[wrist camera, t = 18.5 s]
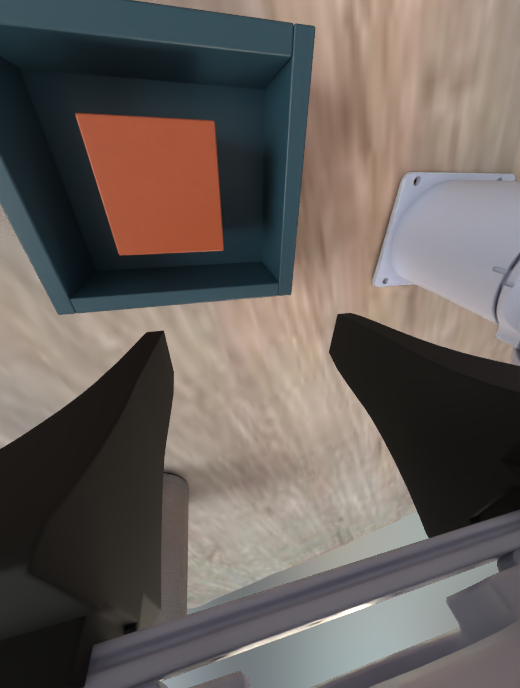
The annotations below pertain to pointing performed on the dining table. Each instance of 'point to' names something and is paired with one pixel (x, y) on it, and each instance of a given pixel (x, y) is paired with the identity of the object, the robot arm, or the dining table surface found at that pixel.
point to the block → (156, 181)
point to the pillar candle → (174, 549)
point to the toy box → (151, 101)
